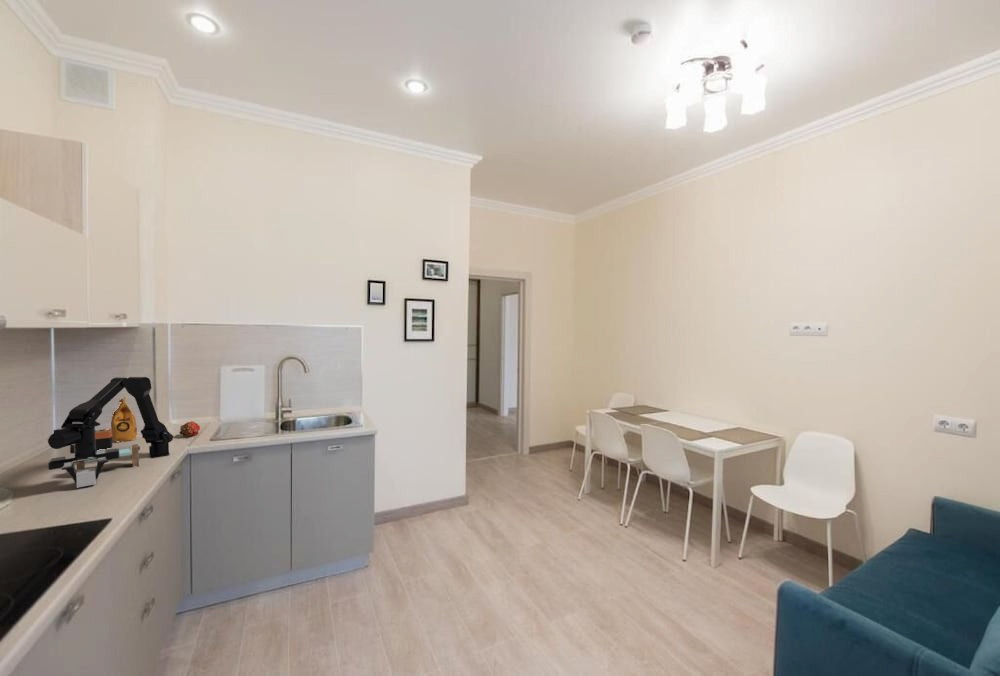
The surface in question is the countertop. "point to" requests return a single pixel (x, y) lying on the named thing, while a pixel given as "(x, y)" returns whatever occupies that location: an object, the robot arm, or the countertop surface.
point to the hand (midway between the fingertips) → (86, 480)
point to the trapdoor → (122, 451)
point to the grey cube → (86, 477)
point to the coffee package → (123, 423)
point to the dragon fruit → (189, 429)
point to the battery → (103, 438)
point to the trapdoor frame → (134, 458)
